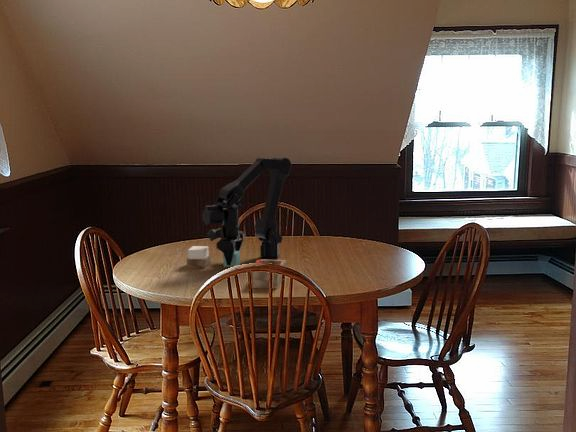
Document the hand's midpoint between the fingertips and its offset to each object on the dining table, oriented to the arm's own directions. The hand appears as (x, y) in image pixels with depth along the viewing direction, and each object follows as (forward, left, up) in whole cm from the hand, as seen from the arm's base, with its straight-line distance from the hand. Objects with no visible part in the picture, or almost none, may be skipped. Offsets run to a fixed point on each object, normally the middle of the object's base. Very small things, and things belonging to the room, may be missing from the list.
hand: (231, 262), depth 224 cm
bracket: (-17, +19, -1) cm, 25 cm away
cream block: (+12, +2, +2) cm, 13 cm away
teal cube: (0, 0, -1) cm, 1 cm away
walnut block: (+12, +2, -1) cm, 12 cm away
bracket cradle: (-18, +19, -1) cm, 26 cm away
